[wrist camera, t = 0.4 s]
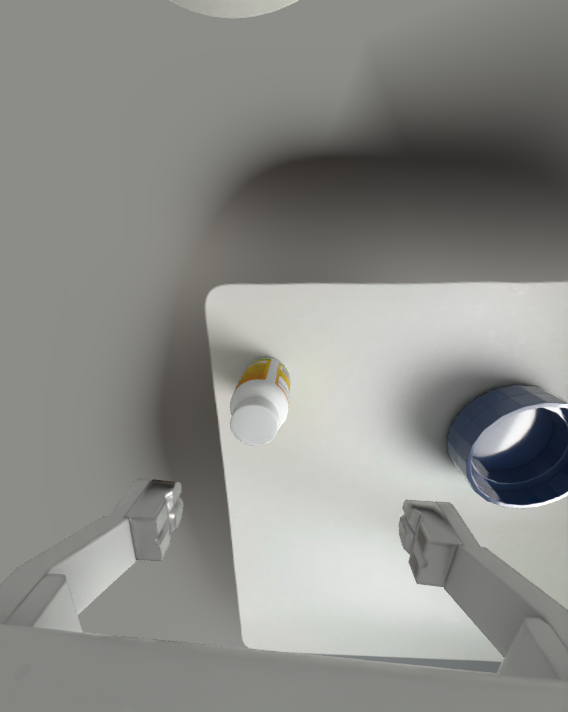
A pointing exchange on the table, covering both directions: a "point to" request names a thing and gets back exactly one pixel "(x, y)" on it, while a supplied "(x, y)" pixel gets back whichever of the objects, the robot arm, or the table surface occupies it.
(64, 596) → the robot arm
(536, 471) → the blue bowl
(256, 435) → the supplement bottle
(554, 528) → the table surface
